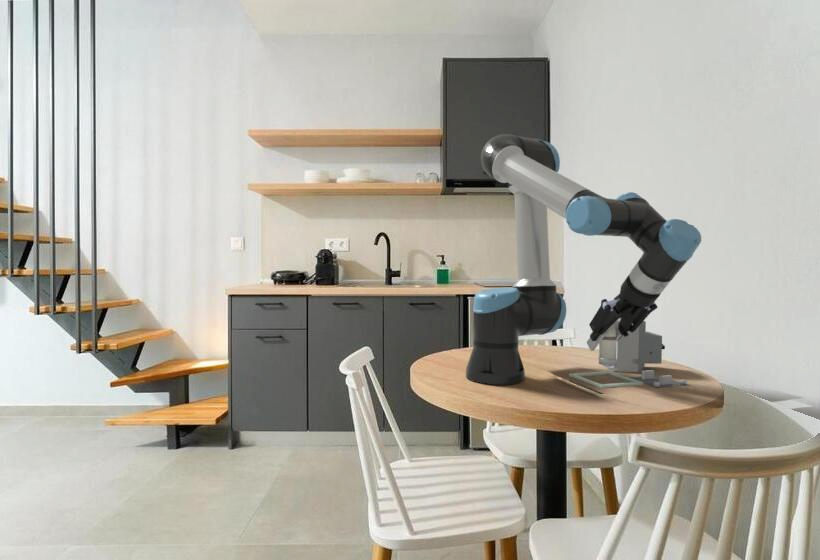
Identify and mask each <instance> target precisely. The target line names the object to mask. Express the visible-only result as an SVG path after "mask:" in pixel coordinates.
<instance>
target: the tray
mask: <svg viewBox="0 0 820 560" xmlns="http://www.w3.org/2000/svg"><path fill="white" fill-rule="evenodd" d="M600 375H601V376H602V375H603V376H604V375H608V376H610V377H611V376H612V377H615V378H617V379H621V380H624V381H626V382H615V383H604V384H603V383H599V382H596V381H593V380H591V379H588V378H586V377H589V376H591V377H592V376H600ZM568 377H570V378H574V379H576V380H579V381H582V382H584V383H586V384H589V385H593V386H594V387H597V388H599V389H607V388H608V389H609V388H618V387H629V386H631V387H632V386H642V385H644V384H643V382H641V381H638V380H635V379H631V378H629V377H628V376H625V375H621V374H618V373H616V372H614V371H611V370H610V371H609V370H604V371H590V372H588V371H587V372H577V373H575V372H574V373H569V374H568ZM568 383H571V384H574V385H577V386H579V387H582V388H584V389H587V390H589V391H591V392H594V393H597V394H598V395H605V393H604V392H601V391H598V390H596V389H593V388H590V387H588V386H585V385H584V384H581V383H578V382H575V381H573V380H570V379H569V380H568Z"/></svg>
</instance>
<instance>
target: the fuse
mask: <svg viewBox="0 0 820 560" xmlns="http://www.w3.org/2000/svg"><path fill="white" fill-rule="evenodd" d="M616 325H617V321H616V322H615V323H614V324H613V325H612V326H611V327H609V328H608V329H607V330H606V331H605V332H604V334H605V336H604V338H603V339H602V340H601V342H600V343H599V344H598V348H599V349H598V364H599V365H602V366H603V365H609V366H613V365H616V337H617V336H616Z"/></svg>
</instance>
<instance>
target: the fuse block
mask: <svg viewBox="0 0 820 560" xmlns="http://www.w3.org/2000/svg"><path fill="white" fill-rule="evenodd" d="M641 373H642V375H641V376H632V377H631V376H629V377H628V378H631V379H635V380H638V381H641V382H643V385H646V386H649V387H652V388H655V389H661V388H663V389H664V388H673V387H684V386H686V387H687V386H690V384H688V383H687V381H688V380H687V379H680V381H678V380H674V379H673V375H670V374H666V375H664V374H663V375H658V374H657V375H655V370H653V369H650V370H649V369H646V370H644V371H642V372H641Z"/></svg>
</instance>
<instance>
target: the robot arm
mask: <svg viewBox="0 0 820 560" xmlns="http://www.w3.org/2000/svg"><path fill="white" fill-rule="evenodd" d="M480 164H481V167H482V169H483V171H484V172H485V174H487V175H488V176H490V177H491V178H493V179H494V180H496V181H497V182H499V183H501V184H506V183H508V191H510V193H512V194H513V195H514V214H515V216H514V218H515V237H516V238H515V240H516V260H517V261H516V267H517V281H516V282H515V283H514V284H513V285H512V287H495V288H488V289H483V290H480V291H478V292H476V293H475V295H474V298H473V306H472V310H473V321H472V322H473V323H472V324H473V327H472V329H473V330H472V331H473V334H472V337H473V338H472V343H473V344H472V349H471V353H470V356H469V359H468V361H467V365H466V369H465V377H466V378H467V379H468V380H469V379H470V380H469V381H472V380H473V382H475V381H476V382H475V383H479V382H480V384H485V383H487V384H486V385H515V384H520V383H522V382H524V381H525V377H526V375H525V374H526V372H525V371H526V370H525V368H524V365H523V364H524V363H523V361H522V358H521V355H520V352H519V337H523V336H525V337H526V336H535V335H541V336H543V335H546V334H549V333H554V332H556V331H557V330H558V329H560V327H562V325H563V323H564V322H565V320H566V316H567V304H566V300H565V299H564V298H563V296H562V295H561V294H560V293H558V292H557V284H556V283H555V282H554V281H553V280H552V279H551V272H550V270H551V269H550V249H549V226H548V225H549V223H548V209H549V210H551V211H552V212H554V213H556V214H557V215H559V216H561V217H562V218H564V219H565V220H566V224H567V225H568V228H569V229H570V230H571V231H572V232H574V233H575V234H579V235H584V236H609V237H622V238H623V237H625V238H626V237H627V238H628V239H629V240H630V241H631V242H633V244H634V245H635V246H636V247H637V248H638V249H640V251H642V252H643V253H642V255H641V257H640V258H639V259H638V261H637V262H636V264H635V265H634V266H633V268H632V269H631V271H630V273H629V274H628V275H627V276H626V277H625V279H624V280H623V282H622V284H621V285H620V290H619V293H618V294H617V295H616V296H615V297H614V298H613V299H611V300H609V301H608V299H606V298H604V299H602V300H601V301H600V302H601V303H600V307H599V308H598V310H597V311H596V313H595V314H594V316H593V318H591V319H592V320H591V321H590V322H589V327H590V329H591V331H592V332H591V333H590V335H589V337H588V339H587V340H586V344H587V346H588V348H589V351H590V352H594V351H595V349H596V348H597V347H599V343H600V342H601V340H602V339H603V338H604V336H605V334H604V332H605V331H606V330H607V329H608V328H609V327H611V326H612V325H613V324H614V323H615V322H616V321H617V320H618V319H619V318H621V320H620V322H619V324H618V327H617V326H616V336H617V337H616V342H617V340H619V339H620V338H621V336H622V335H623V336H624V337H626V336H628V333H627V332H628V331H630V332H634V331H635V330H636V329H637V328H638V327H639V325H640V324H641V323H642V322H643V321H645V320H646V318H648V316H649V315H651V313H652V312H654V311H655V310H656V309H658V305H657V304H656V301H657V300H658V298H659V297H660V296H661V294H662V293H663V292H664V290H665V289H666V288H667V286H669V284H670V282H672V281H673V279H674V278H675V277H676V275H677V274H678V272H680V271H681V269H682V268H683V267H684V265H686V264H687V262H688V261H689V260H690V259H692V257H693V256H694V254H695V252H696V250H697V249H698V248H699V246H700V244H701V243H702V234H701V232H700V230H699V229H698V228H697V227H695V225H693V224H690V223H688V222H687V221H686V220H683V219H679V218H678V219H677V218H672V219H669V220H666V219H665V217H664V216H662V215H661V214H660V212H658V211H657V210H656V208H654V207H653V206H652V205H651V204H650V203H649V202H648V201H647V200H646V199H645V198H643V197H641V196H640V195H639V194H638V193H636V192H633V191H631V192H630V191H629V192H626V193H623V194H621V195H620V194H619V196H617V197H616V198H614V199H613V198H606V197H605V196H602V195H600V194H598V193H596V192H594V191H592V190H590V189H588V188H587V187H586V186H583V185H581V184H580V183H577V182H575V181H574V180H572V179H570V178H568V177H566V176H565V175H563V174H561V173H559V171H560V166H561V158H560V154H559V152H558V150H557V148H556V147H555V146H554V145H553V144H552V143H550V142H548V141H545V140H542V139H540V138H529V137H525V136H519V135H513V134H511V133H510V134H507V133H504V134H497V135H496V136H493V137H492V138H490V139H489V140H487V142H486V143H485V145H484V146H483V148H482V150H481V153H480ZM632 323H633V325H632Z"/></svg>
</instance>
